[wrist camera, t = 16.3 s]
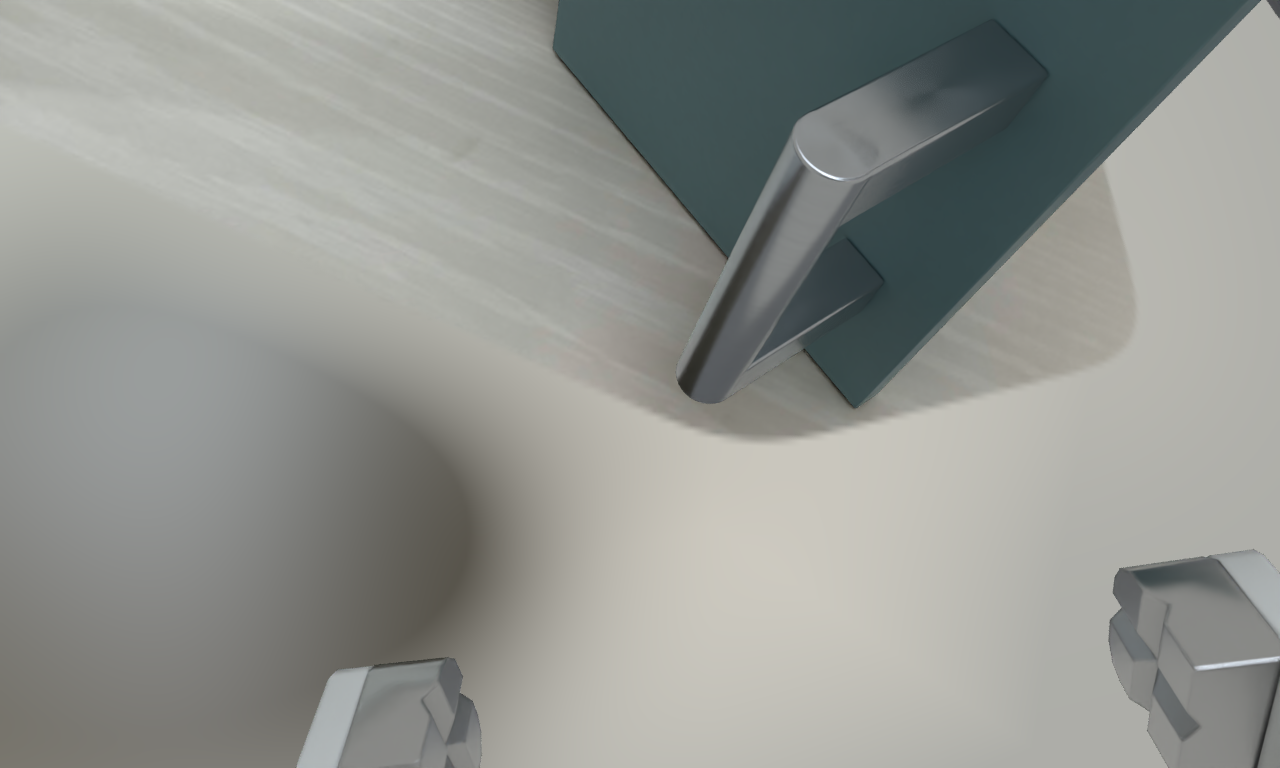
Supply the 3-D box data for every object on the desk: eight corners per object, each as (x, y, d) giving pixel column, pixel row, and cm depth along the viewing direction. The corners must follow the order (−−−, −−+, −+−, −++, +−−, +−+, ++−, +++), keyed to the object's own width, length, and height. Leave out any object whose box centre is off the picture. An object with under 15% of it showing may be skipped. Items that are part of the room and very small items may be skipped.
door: (709, 512, 26) (1019, 131, 12) (402, 109, 30) (364, -530, 16) (877, 393, 28) (1291, -31, 14) (575, 39, 32) (673, -561, 18)
